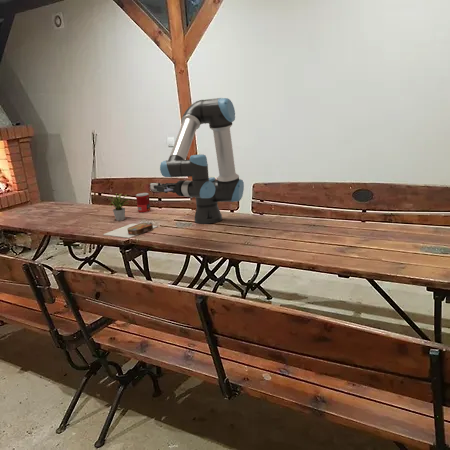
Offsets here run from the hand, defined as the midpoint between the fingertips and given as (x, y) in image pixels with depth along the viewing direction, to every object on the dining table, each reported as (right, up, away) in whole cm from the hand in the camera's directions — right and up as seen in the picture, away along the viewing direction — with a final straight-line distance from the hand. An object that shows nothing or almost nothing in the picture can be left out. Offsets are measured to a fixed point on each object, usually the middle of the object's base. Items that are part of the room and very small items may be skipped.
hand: (151, 186), depth 227 cm
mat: (-14, -22, +17) cm, 31 cm away
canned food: (-14, -11, +61) cm, 64 cm away
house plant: (-26, -17, +44) cm, 54 cm away
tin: (-5, -22, +11) cm, 25 cm away
